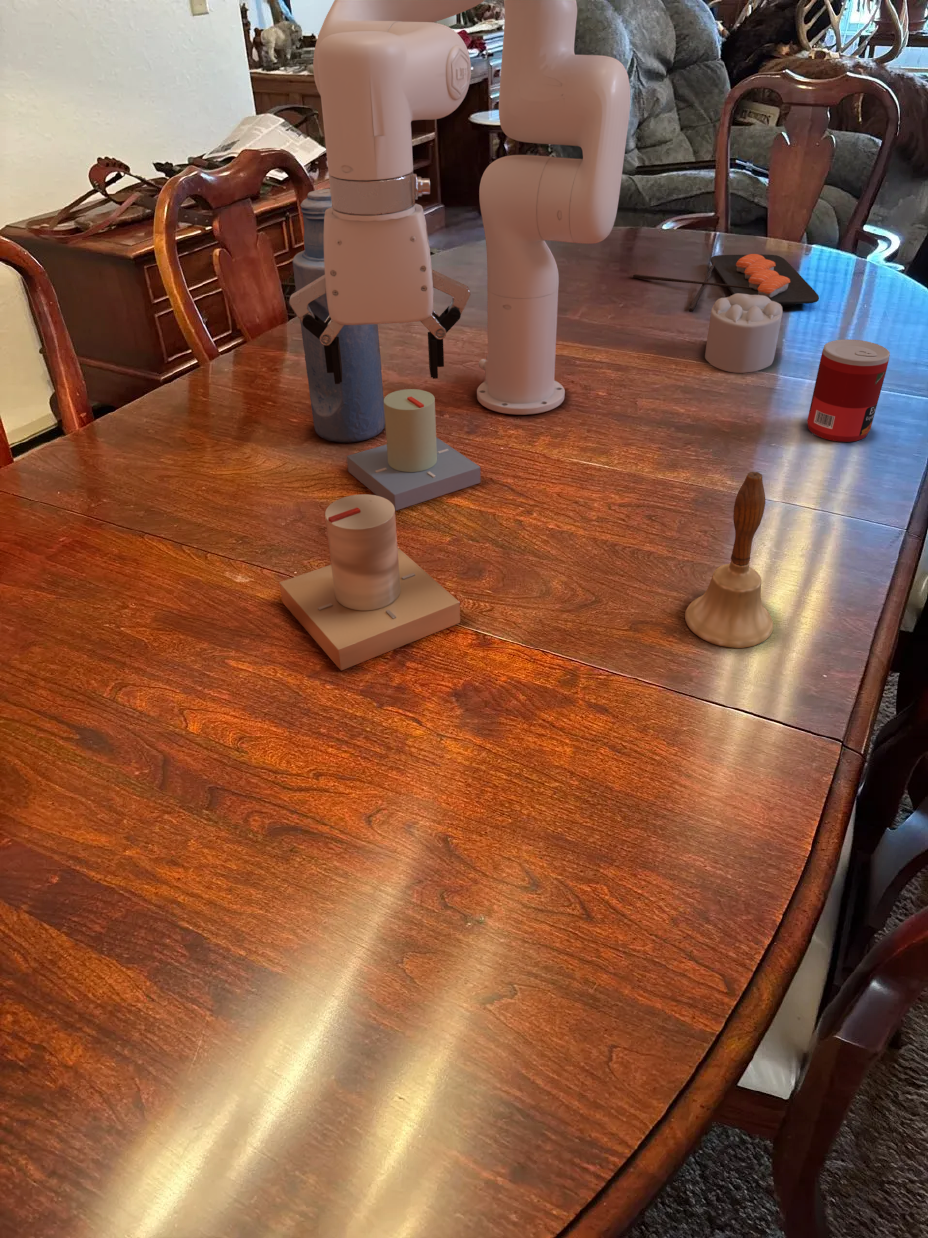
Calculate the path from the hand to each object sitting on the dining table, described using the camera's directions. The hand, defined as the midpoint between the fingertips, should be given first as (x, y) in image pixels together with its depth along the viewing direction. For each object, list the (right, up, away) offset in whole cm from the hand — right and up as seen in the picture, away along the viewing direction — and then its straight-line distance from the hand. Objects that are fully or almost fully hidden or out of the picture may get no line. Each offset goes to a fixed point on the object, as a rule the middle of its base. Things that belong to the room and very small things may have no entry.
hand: (386, 376), depth 93 cm
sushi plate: (+55, +37, +79) cm, 103 cm away
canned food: (+57, 0, +29) cm, 65 cm away
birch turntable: (-1, -24, -2) cm, 24 cm away
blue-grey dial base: (+2, -7, +21) cm, 22 cm away
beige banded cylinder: (-1, -22, -4) cm, 22 cm away
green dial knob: (+2, -5, +19) cm, 20 cm away
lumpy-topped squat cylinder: (+51, +16, +51) cm, 74 cm away
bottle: (-8, +1, +32) cm, 33 cm away
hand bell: (+33, -25, -4) cm, 42 cm away
